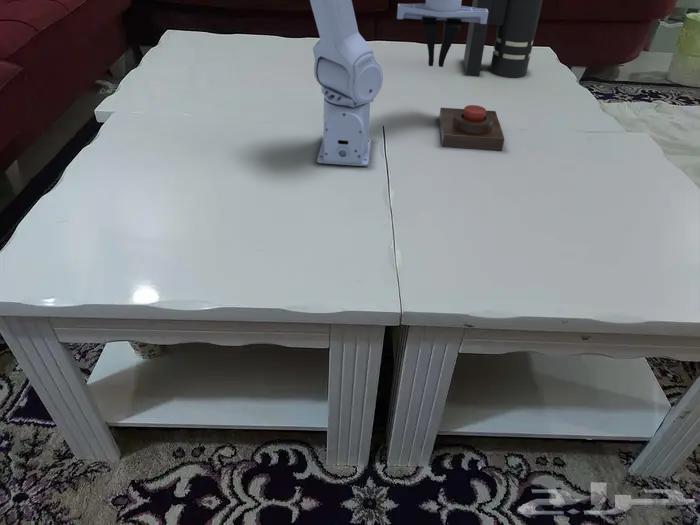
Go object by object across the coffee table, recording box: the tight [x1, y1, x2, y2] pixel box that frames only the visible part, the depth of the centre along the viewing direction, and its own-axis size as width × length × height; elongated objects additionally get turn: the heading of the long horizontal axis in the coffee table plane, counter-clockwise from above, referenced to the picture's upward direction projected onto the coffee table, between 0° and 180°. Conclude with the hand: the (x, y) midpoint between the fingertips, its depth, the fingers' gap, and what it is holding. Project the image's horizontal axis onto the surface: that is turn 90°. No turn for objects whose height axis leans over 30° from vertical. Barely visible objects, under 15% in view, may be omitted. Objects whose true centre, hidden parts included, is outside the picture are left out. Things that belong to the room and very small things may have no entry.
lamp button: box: [463, 104, 487, 122], centre depth 97 cm, size 4×4×2 cm
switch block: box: [438, 107, 505, 151], centre depth 100 cm, size 12×10×4 cm
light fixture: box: [462, 0, 544, 78], centre depth 124 cm, size 10×14×18 cm
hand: (435, 64), depth 98 cm, fingers closed
